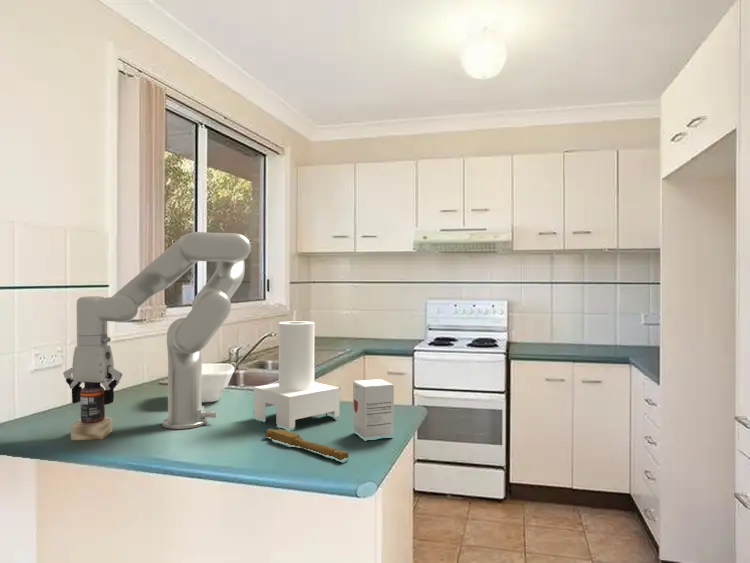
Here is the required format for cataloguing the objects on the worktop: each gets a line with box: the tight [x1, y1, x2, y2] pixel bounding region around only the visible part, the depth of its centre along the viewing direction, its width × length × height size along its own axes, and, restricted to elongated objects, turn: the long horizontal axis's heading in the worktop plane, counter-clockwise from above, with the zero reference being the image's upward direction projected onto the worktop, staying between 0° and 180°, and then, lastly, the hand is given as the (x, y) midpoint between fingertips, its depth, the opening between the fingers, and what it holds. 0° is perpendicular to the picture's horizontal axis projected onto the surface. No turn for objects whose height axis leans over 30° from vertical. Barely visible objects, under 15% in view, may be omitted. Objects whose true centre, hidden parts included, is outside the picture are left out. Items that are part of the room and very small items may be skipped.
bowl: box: [202, 363, 235, 403], centre depth 194 cm, size 22×22×12 cm
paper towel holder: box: [253, 320, 341, 429], centre depth 170 cm, size 19×19×30 cm
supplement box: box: [352, 378, 395, 438], centre depth 153 cm, size 9×9×15 cm
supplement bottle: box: [80, 382, 106, 423], centre depth 152 cm, size 6×6×11 cm
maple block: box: [70, 416, 113, 441], centre depth 152 cm, size 8×8×4 cm
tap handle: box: [264, 428, 349, 460], centre depth 141 cm, size 3×3×30 cm
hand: (92, 402), depth 152 cm, fingers open, 9 cm apart
